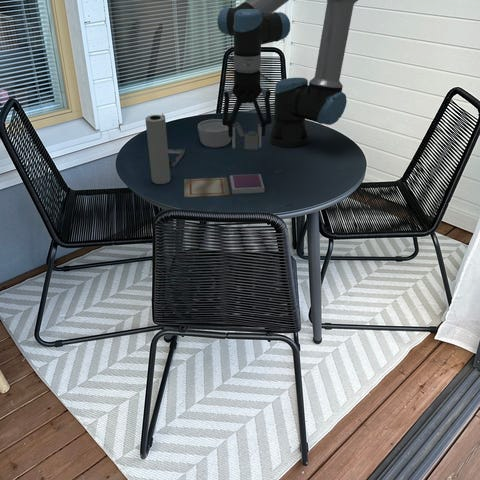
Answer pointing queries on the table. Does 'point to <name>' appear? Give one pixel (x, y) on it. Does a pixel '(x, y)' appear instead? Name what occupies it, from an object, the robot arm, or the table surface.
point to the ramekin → (213, 133)
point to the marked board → (206, 187)
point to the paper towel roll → (158, 148)
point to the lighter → (248, 137)
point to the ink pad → (246, 184)
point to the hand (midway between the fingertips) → (246, 146)
